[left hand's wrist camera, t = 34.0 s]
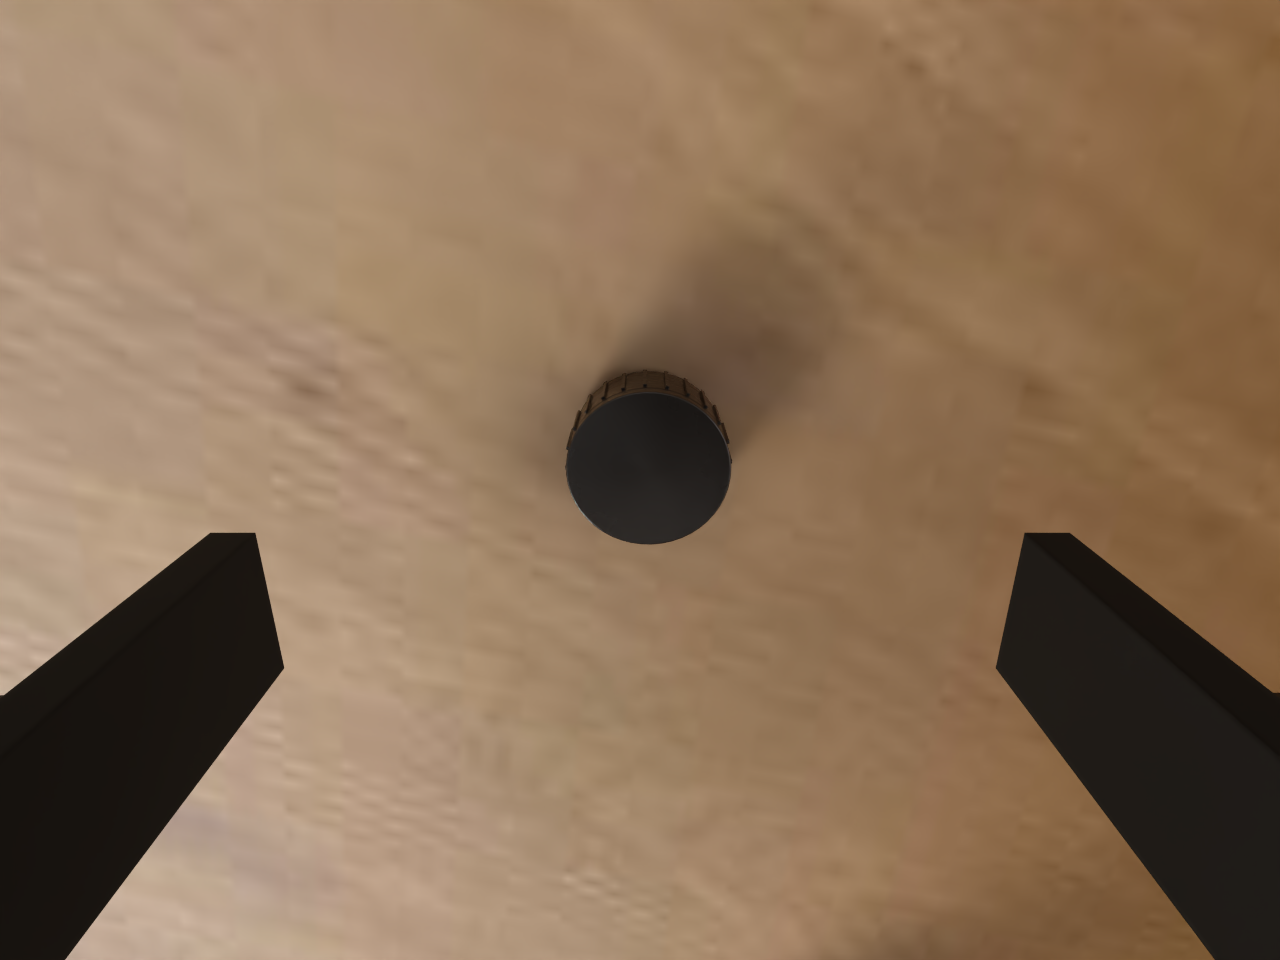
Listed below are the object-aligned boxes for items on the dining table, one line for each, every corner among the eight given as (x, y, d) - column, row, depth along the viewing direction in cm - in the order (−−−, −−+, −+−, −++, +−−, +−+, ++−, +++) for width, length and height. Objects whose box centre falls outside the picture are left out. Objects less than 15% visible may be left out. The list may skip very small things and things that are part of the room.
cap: (612, 535, 19) (609, 569, 17) (543, 408, 18) (533, 432, 16) (748, 478, 18) (758, 509, 17) (688, 342, 17) (692, 360, 15)
